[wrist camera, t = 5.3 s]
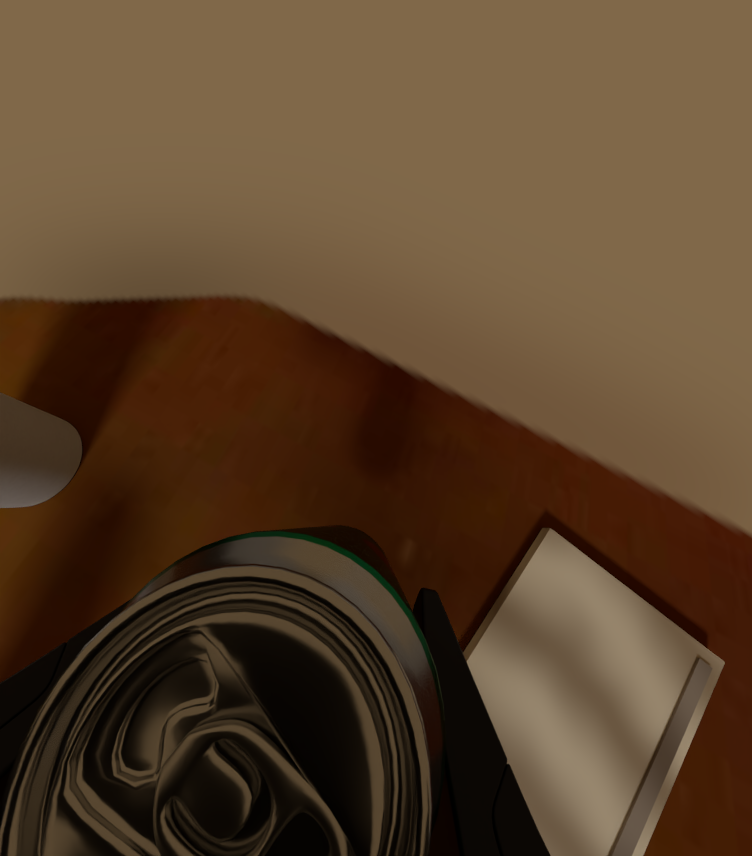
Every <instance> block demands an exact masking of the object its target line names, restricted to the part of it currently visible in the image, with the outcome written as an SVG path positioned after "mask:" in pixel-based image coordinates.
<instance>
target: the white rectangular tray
mask: <svg viewBox="0 0 752 856" xmlns="http://www.w3.org/2000/svg"><path fill="white" fill-rule="evenodd" d="M463 655H464V657H465V659H466V662H467V664H468V667H469V669H470V671H471V674H472V676H473V678H474V681H475V683H476V686H477V688H478V690H479V693H480V695H481V697H482V700H483V702H484V705H485V707H486V709H487V712H488V714H489V716H490V719H491V721H492V724H493V726H494V728H495V731H496V733H497V735H498V738H499V740H500V743H501V745H502V747H503V750H504V752H505V754H506V757H507V764H510V766H511V768H512V771H513V773H514V775H515V778H516V780H517V783H518V785H519V787H520V790H521V792H522V794H523V797H524V799H525V801H526V803H527V806H528V808H529V810H530V812H531V815H532V817H533V819H534V821H535V824H536V826H537V828H538V830H539V832H540V835H541V837H542V839H543V841H544V843H545V845H546V847H547V849H548V851H549V853H550V855H551V856H643V855H644V852H645V850H646V848H647V845H648V843H649V840H650V838H651V836H652V833H653V831H654V829H655V826H656V824H657V822H658V819H659V817H660V815H661V812H662V810H663V807H664V805H665V803H666V800H667V798H668V796H669V793H670V791H671V789H672V786H673V784H674V781H675V779H676V777H677V774H678V772H679V770H680V767H681V765H682V763H683V760H684V758H685V756H686V753H687V751H688V748H689V746H690V744H691V741H692V739H693V737H694V734H695V732H696V730H697V727H698V725H699V722H700V720H701V718H702V715H703V713H704V711H705V708H706V706H707V704H708V701H709V699H710V696H711V694H712V692H713V689H714V687H715V685H716V682H717V680H718V678H719V675H720V673H721V671H722V668H723V666H724V663H725V662H724V661H722V660H721V659H720V658H719V657H717V656H716V655H715V654H713V653H712V652H711V651H710V650H708V649H707V648H706V647H704V646H703V645H702V644H700V643H699V642H698V641H697V640H695V639H694V638H693V637H691V636H690V635H689V634H687V633H686V632H685V631H684V630H682V629H681V628H680V627H678V626H677V625H676V624H674V623H673V622H672V621H671V620H669V619H668V618H667V617H665V616H664V615H663V614H661V613H660V612H659V611H658V610H656V609H655V608H654V607H652V606H651V605H650V604H648V603H647V602H646V601H645V600H643V599H642V598H641V597H639V596H638V595H637V594H636V593H634V592H633V591H632V590H630V589H629V588H628V587H626V586H625V585H624V584H623V583H621V582H620V581H619V580H617V579H616V578H615V577H613V576H612V575H611V574H610V573H608V572H607V571H606V570H604V569H603V568H602V567H600V566H599V565H598V564H597V563H595V562H594V561H593V560H591V559H590V558H589V557H587V556H586V555H585V554H584V553H582V552H581V551H580V550H578V549H577V548H576V547H574V546H573V545H572V544H571V543H569V542H568V541H567V540H565V539H564V538H563V537H561V536H560V535H559V534H558V533H556V532H555V531H554V530H552V529H551V528H542V529H541V531H540V533H539V534H538V536H537V537H536V539H535V540H534V542H533V544H532V545H531V547H530V548H529V550H528V551H527V553H526V555H525V556H524V558H523V559H522V561H521V562H520V564H519V566H518V567H517V569H516V570H515V572H514V573H513V575H512V577H511V578H510V580H509V581H508V583H507V584H506V586H505V588H504V589H503V591H502V592H501V594H500V595H499V597H498V599H497V600H496V602H495V603H494V605H493V606H492V608H491V610H490V611H489V613H488V614H487V616H486V617H485V619H484V621H483V622H482V624H481V625H480V627H479V629H478V630H477V632H476V633H475V635H474V636H473V638H472V640H471V641H470V643H469V644H468V646H467V647H466V649H465V651H464V652H463Z"/></svg>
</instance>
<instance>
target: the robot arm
mask: <svg viewBox="0 0 752 856" xmlns="http://www.w3.org/2000/svg"><path fill="white" fill-rule="evenodd" d="M129 601H130V600H129ZM129 601H127V602H126V603H124V604H123V605H121V606H120V607H118V608H117V609H115V610H114V611H112V612H111V613H109V614H107V615H106V616H104V617H103V618H101V619H100V620H98V621H97V622H95V623H94V624H92V625H91V626H89V627H87V628H86V629H84V630H83V631H81V632H80V633H78V634H77V635H75V636H74V637H72V638H71V639H69V640H68V642H67V643H63V644H61V645H60V646H58V647H57V648H55V649H53V650H52V651H50V652H49V653H47V654H46V655H44V656H43V657H41V658H40V659H38V660H36V661H35V662H33V663H32V664H30V665H28V666H27V667H25V668H24V669H22V670H20V671H19V672H17V673H16V674H14V675H13V676H11V677H9V678H8V679H6V680H4V681H3V682H1V683H0V806H1V802H2V797H3V793H4V789H5V786H6V784H7V781H8V778H9V775H10V772H11V770H12V767H13V764H14V761H15V758H16V756H17V753H18V750H19V748H20V746H21V744H22V741H23V739H24V737H25V735H26V733H27V731H28V729H29V727H30V725H31V723H32V721H33V719H34V717H35V715H36V713H37V711H38V709H39V708H40V706H41V704H42V703H43V701H44V700H45V698H46V697H47V695H48V694H49V692H50V690H51V689H52V687H53V686H54V684H55V683H56V681H57V680H58V678H59V676H60V675H61V674H62V673H63V671H64V670H65V669H66V668H67V667H68V665H69V664H70V663H71V662H72V660H73V659H74V658H75V657H76V656H77V654H78V653H79V652H80V651H81V649H82V648H83V647H84V646H85V645H86V644H87V643H88V642H89V641H90V640H91V639H92V638H93V637H94V636H95V635H96V634H97V633H98V632H99V631H101V630H102V629H103V628H104V627H105V626H106V625H107V624H108V623H109V622H110V621H111V620H112V619H113V618H115V617H116V616H117V615H118V614H119V613H120V612H121V611H122V610H123V609H124V607H125V606H126V605H127V604H128V602H129ZM413 614H414V616H415V618H416V620H417V622H418V624H419V627H420V629H421V631H422V633H423V635H424V637H425V639H426V642H427V645H428V648H429V650H430V653H431V656H432V659H433V662H434V664H435V667H436V671H437V676H438V680H439V685H440V690H441V695H442V699H443V706H444V718H445V731H446V753H445V774H444V782H443V788H442V793H441V799H440V805H439V811H438V816H437V819H436V823H435V826H434V829H433V832H432V835H431V845H430V853H429V856H551V855H550V853H549V851H548V849H547V847H546V845H545V843H544V841H543V839H542V837H541V835H540V832H539V830H538V828H537V826H536V824H535V821H534V819H533V817H532V815H531V812H530V810H529V808H528V806H527V803H526V801H525V799H524V797H523V794H522V792H521V790H520V787H519V785H518V783H517V780H516V778H515V775H514V773H513V771H512V768H511V766H510V764H507V757H506V754H505V752H504V750H503V747H502V745H501V743H500V740H499V738H498V735H497V733H496V731H495V728H494V726H493V724H492V721H491V719H490V716H489V714H488V712H487V709H486V707H485V705H484V702H483V700H482V697H481V695H480V693H479V690H478V688H477V686H476V683H475V681H474V678H473V676H472V674H471V671H470V669H469V667H468V664H467V662H466V659H465V657H464V655H463V652H462V650H461V648H460V645H459V643H458V640H457V638H456V636H455V633H454V631H453V629H452V626H451V624H450V621H449V619H448V617H447V614H446V612H445V610H444V607H443V605H442V602H441V600H440V598H439V595H438V593H437V592H436V591H435V590H431V589H427V588H421V589H420V591H419V594H418V597H417V599H416V602H415V604H414V608H413Z"/></svg>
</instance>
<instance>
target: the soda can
mask: <svg viewBox="0 0 752 856" xmlns="http://www.w3.org/2000/svg"><path fill="white" fill-rule="evenodd" d="M445 753H446V731H445V718H444V706H443V699H442V695H441V690H440V685H439V680H438V676H437V671H436V667H435V664H434V662H433V659H432V656H431V653H430V650H429V648H428V645H427V642H426V639H425V637H424V635H423V633H422V631H421V629H420V627H419V624H418V622H417V620H416V618H415V616H414V614H413V612H412V610H411V608H410V606H409V603H408V601H407V599H406V597H405V595H404V593H403V591H402V589H401V587H400V585H399V583H398V580H397V578H396V576H395V574H394V572H393V570H392V568H391V566H390V564H389V562H388V560H387V558H386V556H385V554H384V552H383V550H382V549H381V548H380V546H379V545H378V544H377V543H376V542H375V541H374V540H373V539H372V538H371V537H370V536H368V535H367V534H366V533H364V532H362V531H360V530H358V529H356V528H352V527H349V526H342V525H334V526H320V527H308V528H295V529H282V530H270V531H257V532H251V533H246V534H241V535H236V536H231V537H227V538H225V539H222V540H219V541H217V542H214V543H211V544H208V545H206V546H203V547H201V548H199V549H197V550H195V551H194V552H192V553H190V554H188V555H186V556H184V557H183V558H181V559H179V560H177V561H176V562H174V563H173V564H172V565H170V566H169V567H168V568H166V569H165V570H164V571H162V572H161V573H159V574H158V575H157V576H155V577H154V578H153V579H152V580H151V581H150V582H149V583H148V584H147V585H146V586H145V587H143V588H142V589H141V590H140V591H139V592H138V593H137V594H136V595H135V596H134V597H133V598H132V599H131V600H130V601H129V602H128V604H127V605H126V606H125V607H124V609H123V610H122V611H121V612H120V613H119V614H118V615H117V616H116V617H115V618H113V619H112V620H111V621H110V622H109V623H108V624H107V625H106V626H105V627H104V628H103V629H102V630H101V631H99V632H98V633H97V634H96V635H95V636H94V637H93V638H92V639H91V640H90V641H89V642H88V643H87V644H86V645H85V646H84V647H83V648H82V649H81V651H80V652H79V653H78V654H77V656H76V657H75V658H74V659H73V660H72V662H71V663H70V664H69V665H68V667H67V668H66V669H65V670H64V671H63V673H62V674H61V675H60V676H59V678H58V680H57V681H56V683H55V684H54V686H53V687H52V689H51V690H50V692H49V694H48V695H47V697H46V698H45V700H44V701H43V703H42V704H41V706H40V708H39V709H38V711H37V713H36V715H35V717H34V719H33V721H32V723H31V725H30V727H29V729H28V731H27V733H26V735H25V737H24V739H23V741H22V744H21V746H20V748H19V750H18V753H17V756H16V758H15V761H14V764H13V767H12V770H11V772H10V775H9V778H8V781H7V784H6V786H5V789H4V793H3V797H2V802H1V806H0V856H429V853H430V845H431V835H432V832H433V829H434V826H435V823H436V819H437V816H438V811H439V805H440V799H441V793H442V788H443V782H444V774H445Z"/></svg>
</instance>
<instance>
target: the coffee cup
mask: <svg viewBox="0 0 752 856" xmlns="http://www.w3.org/2000/svg"><path fill="white" fill-rule="evenodd" d="M81 456H82V442H81V438H80V436H79V434H78V432H77V430H76V429H75V428H74V427H73V426H72V425H71V424H70V423H68V422H67V421H65V420H63V419H61V418H58V417H56V416H54V415H51V414H49V413H47V412H44V411H42V410H40V409H37V408H35V407H33V406H31V405H28V404H26V403H24V402H21V401H19V400H17V399H14V398H12V397H10V396H7V395H5V394H3V393H0V508H11V507H27V506H32V505H36V504H39V503H41V502H44V501H46V500H48V499H50V498H51V497H53V496H54V495H56V494H57V493H58V492H60V491H61V490H62V489H63V488H64V487H65V486H66V485H67V484H68V483H69V482H70V480H71V479H72V478H73V476H74V474H75V473H76V471H77V469H78V467H79V464H80V461H81Z"/></svg>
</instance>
